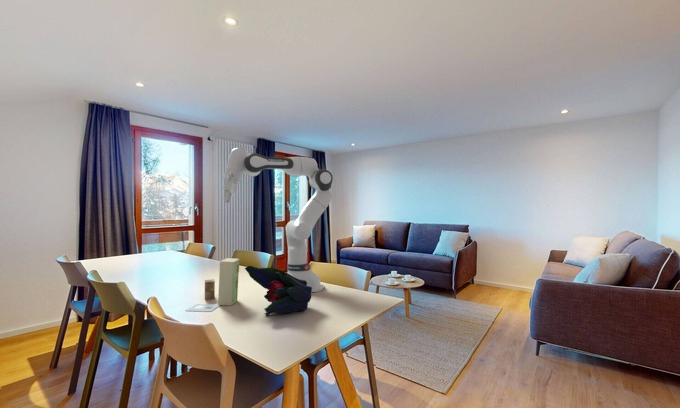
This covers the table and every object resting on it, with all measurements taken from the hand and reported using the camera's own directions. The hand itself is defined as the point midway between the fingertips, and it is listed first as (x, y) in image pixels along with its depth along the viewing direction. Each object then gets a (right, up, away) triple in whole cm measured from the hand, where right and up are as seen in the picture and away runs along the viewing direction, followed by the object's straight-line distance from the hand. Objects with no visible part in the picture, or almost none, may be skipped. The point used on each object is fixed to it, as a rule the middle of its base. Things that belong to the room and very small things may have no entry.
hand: (226, 201), depth 156 cm
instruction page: (-3, -50, -18) cm, 53 cm away
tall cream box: (+6, -50, -11) cm, 51 cm away
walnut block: (-7, -50, -4) cm, 50 cm away
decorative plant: (+32, -50, -23) cm, 64 cm away
